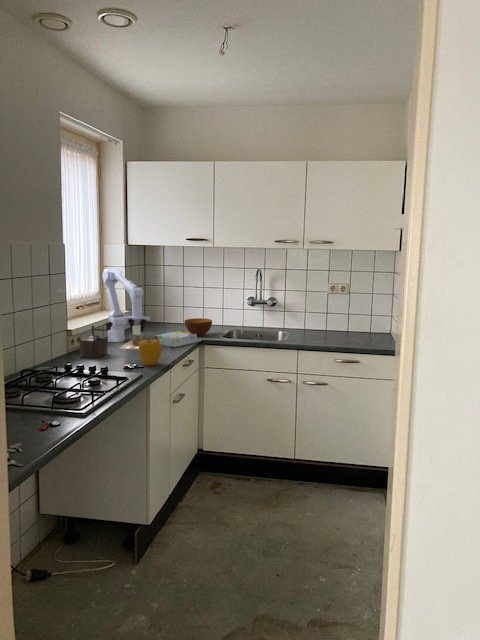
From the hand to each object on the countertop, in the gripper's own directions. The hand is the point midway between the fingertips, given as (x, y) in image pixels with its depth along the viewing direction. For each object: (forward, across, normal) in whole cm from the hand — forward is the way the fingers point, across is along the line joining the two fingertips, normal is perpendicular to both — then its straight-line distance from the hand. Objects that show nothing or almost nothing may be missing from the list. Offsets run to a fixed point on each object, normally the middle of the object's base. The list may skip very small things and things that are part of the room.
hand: (137, 332), depth 310 cm
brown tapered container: (+8, -15, -26) cm, 31 cm away
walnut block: (+7, 0, 0) cm, 7 cm away
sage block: (+1, 0, 0) cm, 1 cm away
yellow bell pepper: (+8, +18, -43) cm, 48 cm away
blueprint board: (+8, 0, +2) cm, 8 cm away
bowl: (+8, +30, +36) cm, 48 cm away
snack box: (+5, +14, +14) cm, 20 cm away
